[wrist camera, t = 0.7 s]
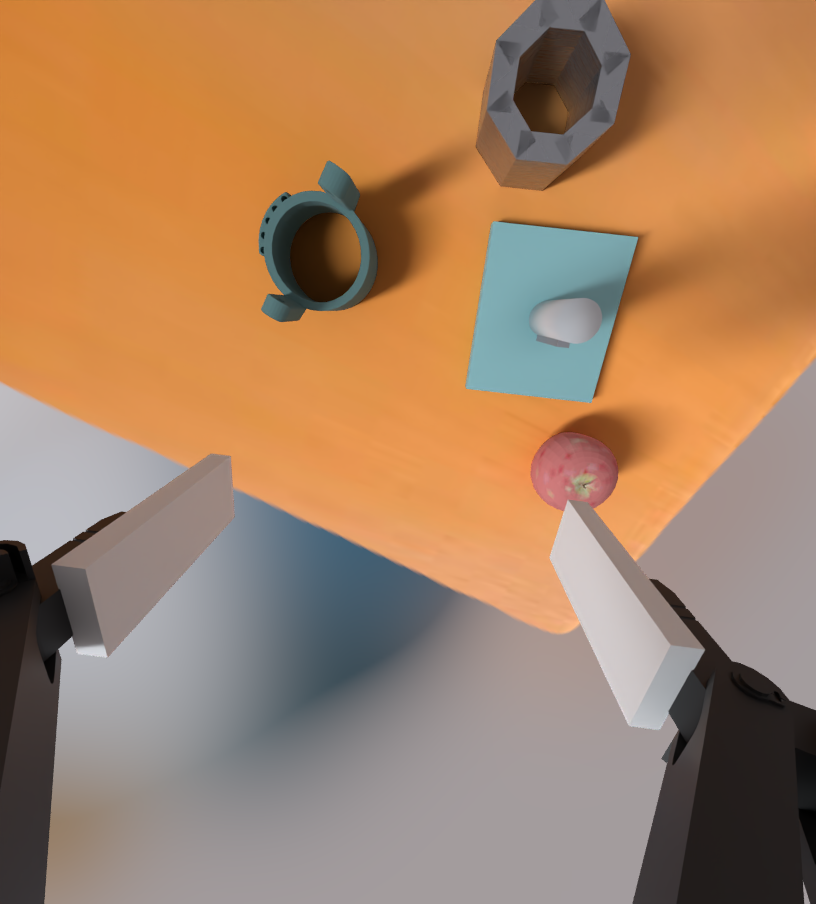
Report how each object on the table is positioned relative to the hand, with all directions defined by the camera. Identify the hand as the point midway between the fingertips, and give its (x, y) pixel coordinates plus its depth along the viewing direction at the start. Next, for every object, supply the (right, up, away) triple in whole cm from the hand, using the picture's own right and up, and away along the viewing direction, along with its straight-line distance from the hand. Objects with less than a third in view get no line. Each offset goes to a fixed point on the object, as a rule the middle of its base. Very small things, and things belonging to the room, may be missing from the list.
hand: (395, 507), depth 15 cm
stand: (+13, +14, +20) cm, 28 cm away
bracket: (-7, +20, +19) cm, 28 cm away
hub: (+10, +28, +15) cm, 33 cm away
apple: (+16, +2, +25) cm, 30 cm away
